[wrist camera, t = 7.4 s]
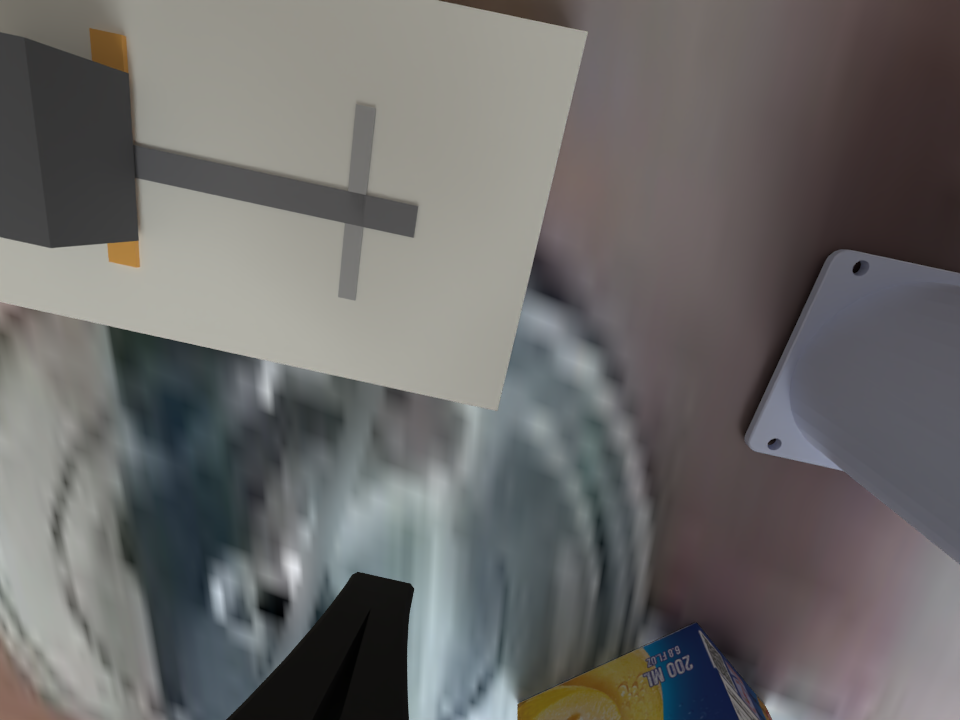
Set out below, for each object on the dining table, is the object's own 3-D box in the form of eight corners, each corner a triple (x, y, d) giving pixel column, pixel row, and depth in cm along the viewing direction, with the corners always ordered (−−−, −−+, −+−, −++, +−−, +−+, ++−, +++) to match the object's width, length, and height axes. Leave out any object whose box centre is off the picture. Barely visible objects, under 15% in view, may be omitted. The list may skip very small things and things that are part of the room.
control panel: (578, 55, 14) (588, 29, 12) (499, 390, 18) (497, 413, 16) (-21, -71, 14) (-109, -117, 12) (31, 287, 18) (-29, 297, 16)
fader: (128, 73, 13) (5, 30, 10) (138, 240, 15) (36, 249, 12) (1, 46, 13) (-162, -5, 10) (25, 215, 15) (-108, 218, 12)
